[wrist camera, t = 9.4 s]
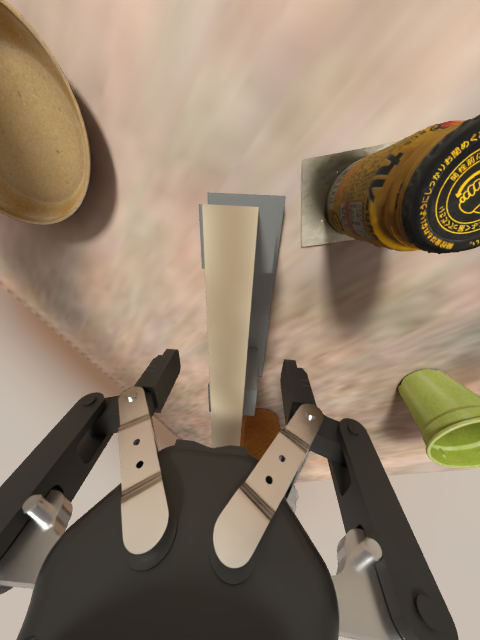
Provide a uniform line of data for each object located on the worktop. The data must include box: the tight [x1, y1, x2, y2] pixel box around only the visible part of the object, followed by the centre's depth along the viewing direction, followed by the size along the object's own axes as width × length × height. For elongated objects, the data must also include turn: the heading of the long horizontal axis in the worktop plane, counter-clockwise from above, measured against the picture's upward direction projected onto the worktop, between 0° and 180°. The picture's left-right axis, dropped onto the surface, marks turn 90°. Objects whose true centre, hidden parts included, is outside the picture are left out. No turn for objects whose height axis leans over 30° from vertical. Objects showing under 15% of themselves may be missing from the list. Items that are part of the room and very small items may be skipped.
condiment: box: [301, 115, 480, 254], centre depth 13 cm, size 7×8×12 cm
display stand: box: [199, 193, 285, 416], centre depth 21 cm, size 7×22×8 cm, turn 177°
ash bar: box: [202, 204, 259, 448], centre depth 15 cm, size 2×20×4 cm, turn 177°
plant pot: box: [398, 369, 480, 468], centre depth 25 cm, size 9×9×9 cm
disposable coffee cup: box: [240, 409, 298, 513], centre depth 30 cm, size 10×10×12 cm
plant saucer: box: [0, 0, 91, 225], centre depth 17 cm, size 15×15×3 cm
